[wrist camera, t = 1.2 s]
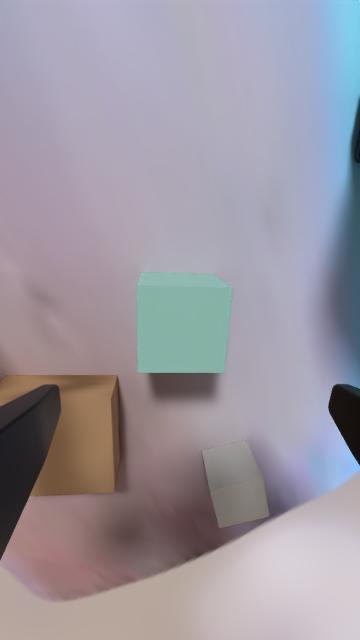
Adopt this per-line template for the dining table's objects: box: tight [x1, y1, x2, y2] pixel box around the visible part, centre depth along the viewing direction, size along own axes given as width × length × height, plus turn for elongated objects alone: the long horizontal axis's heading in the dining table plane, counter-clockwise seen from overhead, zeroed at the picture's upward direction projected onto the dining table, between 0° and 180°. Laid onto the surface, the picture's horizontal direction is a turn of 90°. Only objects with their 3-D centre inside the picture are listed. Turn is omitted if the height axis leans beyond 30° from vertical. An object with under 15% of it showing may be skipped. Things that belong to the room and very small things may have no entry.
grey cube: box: [202, 439, 270, 529], centre depth 23 cm, size 4×4×4 cm
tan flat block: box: [0, 375, 120, 496], centre depth 21 cm, size 8×8×4 cm
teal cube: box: [137, 272, 233, 373], centre depth 17 cm, size 5×5×5 cm
